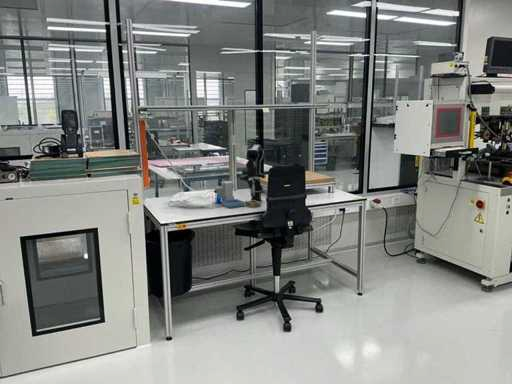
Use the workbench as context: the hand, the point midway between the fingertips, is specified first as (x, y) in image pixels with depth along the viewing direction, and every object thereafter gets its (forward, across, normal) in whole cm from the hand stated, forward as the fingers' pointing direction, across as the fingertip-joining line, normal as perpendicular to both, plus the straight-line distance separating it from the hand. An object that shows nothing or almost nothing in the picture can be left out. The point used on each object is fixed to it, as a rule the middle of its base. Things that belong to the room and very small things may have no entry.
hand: (252, 188), depth 299 cm
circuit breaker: (+13, +10, -22) cm, 28 cm away
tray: (+12, +11, -9) cm, 19 cm away
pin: (+5, 0, 0) cm, 5 cm away
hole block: (+12, 0, 0) cm, 13 cm away
